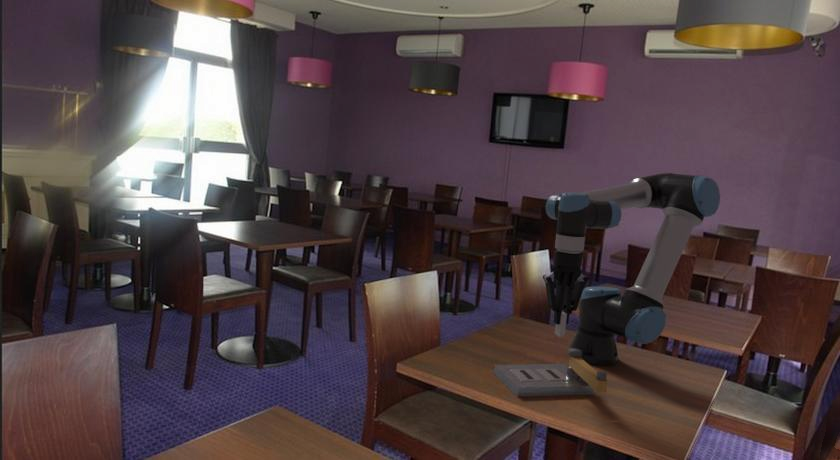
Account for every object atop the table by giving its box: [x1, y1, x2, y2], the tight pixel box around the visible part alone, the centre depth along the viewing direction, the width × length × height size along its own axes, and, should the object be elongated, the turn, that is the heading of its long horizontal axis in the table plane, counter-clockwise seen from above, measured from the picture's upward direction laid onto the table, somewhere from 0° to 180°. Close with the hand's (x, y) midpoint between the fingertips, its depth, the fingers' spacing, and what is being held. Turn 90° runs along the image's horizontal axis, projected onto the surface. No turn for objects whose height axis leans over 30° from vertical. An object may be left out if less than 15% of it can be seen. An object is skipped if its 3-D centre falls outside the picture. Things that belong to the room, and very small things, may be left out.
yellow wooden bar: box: [567, 348, 608, 393], centre depth 159 cm, size 20×4×5 cm, turn 8°
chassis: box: [493, 363, 594, 398], centre depth 165 cm, size 22×16×5 cm
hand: (559, 335), depth 164 cm, fingers closed
